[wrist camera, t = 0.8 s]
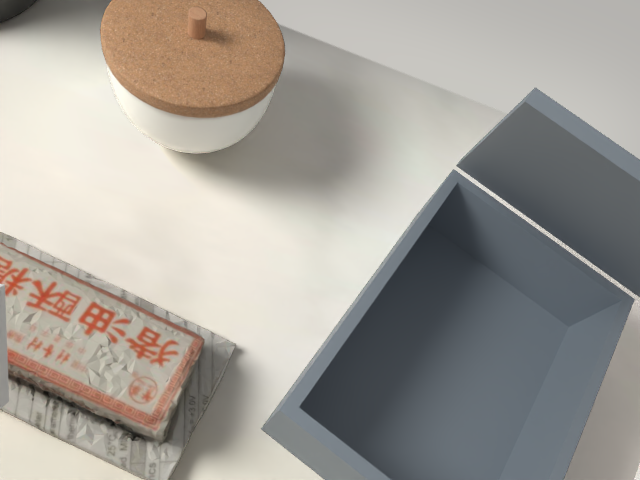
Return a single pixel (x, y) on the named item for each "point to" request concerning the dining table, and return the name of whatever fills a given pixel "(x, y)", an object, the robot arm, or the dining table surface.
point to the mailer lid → (566, 182)
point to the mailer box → (458, 355)
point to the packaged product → (103, 364)
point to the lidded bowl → (192, 68)
